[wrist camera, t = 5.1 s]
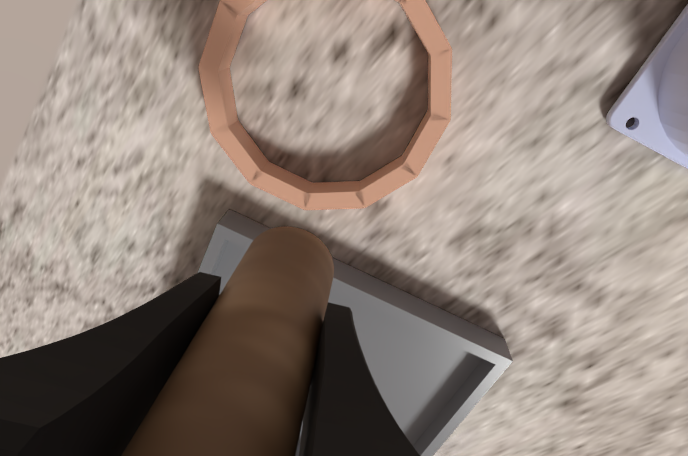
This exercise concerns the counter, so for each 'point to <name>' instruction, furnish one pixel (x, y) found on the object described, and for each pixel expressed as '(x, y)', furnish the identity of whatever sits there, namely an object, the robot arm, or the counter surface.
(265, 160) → the ring
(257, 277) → the dowel
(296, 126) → the counter surface
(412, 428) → the tray
